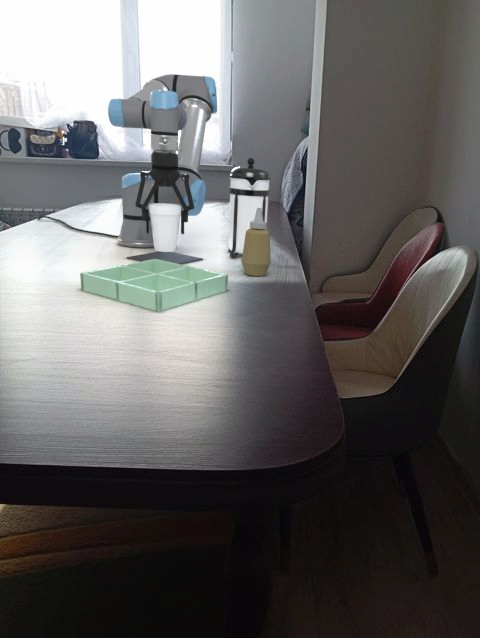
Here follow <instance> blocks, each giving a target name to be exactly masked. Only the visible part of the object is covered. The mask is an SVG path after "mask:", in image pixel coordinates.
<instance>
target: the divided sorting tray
mask: <svg viewBox="0 0 480 638" xmlns="http://www.w3.org/2000/svg"><path fill="white" fill-rule="evenodd" d="M79 276H80V277H79V278H80V290H81V291H84V292H87V293H90V294H94V295H98V296H101V297H105V298H109V299H111V300H116V301H119V302H122V303H126V304H130V305H134V306H137V307H140V308H144V309H147V310H151V311H154V312H158V313H159V312H163V311H167V310H169V309H173V308H177V307H179V306H181V305H186V304H189V303H192V302H195V301H199V300H201V299H204V298H208V297H212V296H214V295H217V294H221V293H225V292H228V285H229V284H228V283H229V274H227V273H222V272H217V271H212V270H208V269H204V268H200V267H195V266H189V265H185V264H176V263H171V262H167V261H162V260H158V259H152V260H146V261H136V262H131V263H126V264H120V265H115V266H110V267H104V268H99V269H95V270H89V271H83V272H80V273H79Z"/></svg>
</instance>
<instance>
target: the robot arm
mask: <svg viewBox="0 0 480 638" xmlns="http://www.w3.org/2000/svg"><path fill="white" fill-rule="evenodd" d="M217 94H218V93H217V85H216V80H215V79H214V78H213V77H212V76H205V75H190V74H189V75H187V74H175V73H172V74H171V73H169V74H163V75H160V76H157V77H155V78H151V79H150V80H148V81H146V82H145V83H144V85H143V86H142V89H140V90H139V91H137V92H135V93H133V94H132V95H131V96H129V97H128V98H111V99H110V100H109V102H108V106H107V116H108V120H109V123H110V124H111V125H112V126H113V127H118V128H122V129H125V128H126V129H127V128H129V129H143V130H145V129H146V130H147V129H148V130H150V150H152V152H151V153H150V170H149V171H142V170H141V171H140V172H136V173H126V174H124V175H123V176H122V178H121V204H122V206H121V207H122V224H121V227H120V232H119V234H118V235H114V234H109V233H105V232H99V231H91V230H85V229H82V228H77V227H73V226H72V225H70V224H68V223H66V222H65V221H63V220H61V219H57V218H53V217H51V216H48V215H41V216H39V217H38V218H37V220H38V221H39V220H41V219H44V218H45V219H49V220H51V221H55V222H59V223H61V224H63V225H65V226H66V227H67V228H70V229H71V230H75V231H78V232H82V233H86V234H93V235H100V236H106V237H111V238H117V244H118V245H120V246H122V247H128V248H140V249H141V248H142V249H146V248H147V249H148V248H149V249H150V248H154V242H153V235H152V228H151V221H150V214H149V204H152V203H166V204H176V205H181V215H180V234H181V235H185V223H188V222H189V217H195V216H198V215H199V214H201V212H202V211H203V208H204V206H205V205H204V204H205V200H206V192H207V191H206V189H207V188H206V187H207V186H206V182H205V181H204V180H203V177H202V176H201V174H200V173H199V172H200V166H201V159H202V151H203V144H204V138H205V133H206V132H205V131H206V125H207V123H208V122H209V121H210V119H211V118H212V115H215V114H217V113H218V100H217V99H218V96H217Z"/></svg>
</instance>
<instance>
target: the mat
mask: <svg viewBox="0 0 480 638" xmlns="http://www.w3.org/2000/svg"><path fill="white" fill-rule="evenodd" d="M126 259H128V260H133V261H136V262H141V261H146V260H152V259H158V260H162V261H167V262H171V263H176V264H181V265H185V264H189V263H194V262H200V261H203V260H204V258H202V257H197V256H192V255H188V254H183V253H177V252H174V251H173V252H160V251H154V252H153V251H152V252H148V253H142V254H137V255H136V254H135V255H130V256H127V257H126Z"/></svg>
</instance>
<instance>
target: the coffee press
mask: <svg viewBox="0 0 480 638" xmlns="http://www.w3.org/2000/svg"><path fill="white" fill-rule="evenodd" d="M246 162H247V164H248V165H247V166H237V167H234V168H233V169H232V170H231V172H230V174H229V180H230V185H229V215H228V218H229V219H228V249H227V251H228V253H230V254H229V258H231V259H236V257H237V256H238V255H240V254H241V255H243V248H244V242H245V235H246V231H247V230H248V229H251V228H250V221H254V218H255V214H256V210H257V208H262V215H263V221H264V222H267V223H268V210H269V209H268V208H269V196H270V181H271V179H272V177H271V176H270V173H269V171H268V170H267V169H266V168H262V167H256V166H254V165H255V159H254V158H253V157H249V158H248V159H247V161H246Z"/></svg>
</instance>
